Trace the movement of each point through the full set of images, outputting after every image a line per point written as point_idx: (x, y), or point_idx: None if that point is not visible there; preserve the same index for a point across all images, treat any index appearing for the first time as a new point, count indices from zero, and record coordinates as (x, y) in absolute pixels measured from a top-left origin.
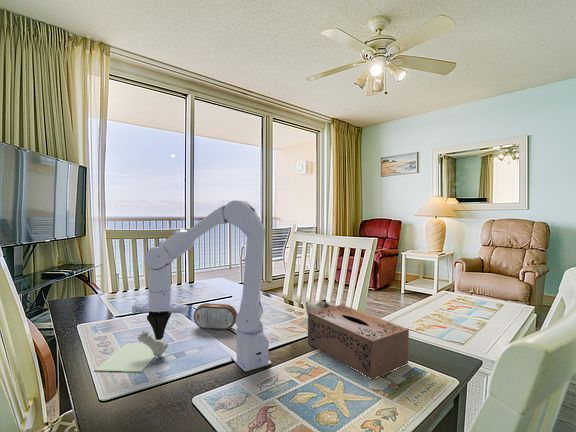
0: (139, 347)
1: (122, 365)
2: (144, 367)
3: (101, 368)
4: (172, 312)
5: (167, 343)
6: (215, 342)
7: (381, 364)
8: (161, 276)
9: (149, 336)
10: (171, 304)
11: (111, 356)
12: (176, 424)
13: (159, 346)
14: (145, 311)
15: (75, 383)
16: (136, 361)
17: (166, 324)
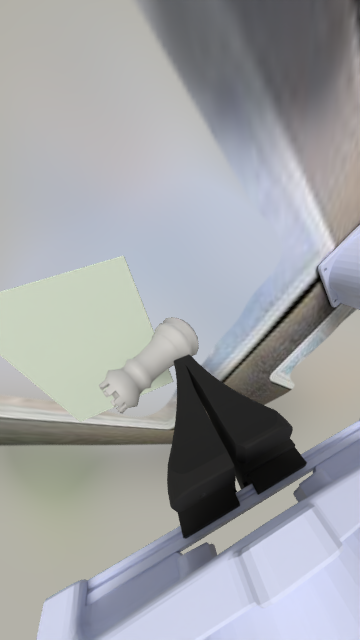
0: (52, 315)
1: None
2: (169, 372)
3: (87, 413)
4: (316, 454)
5: (196, 337)
6: (279, 172)
7: None
8: None
9: (150, 384)
10: (355, 505)
11: (38, 384)
12: (264, 402)
13: None
14: (159, 552)
15: (96, 441)
16: None
17: (219, 381)
